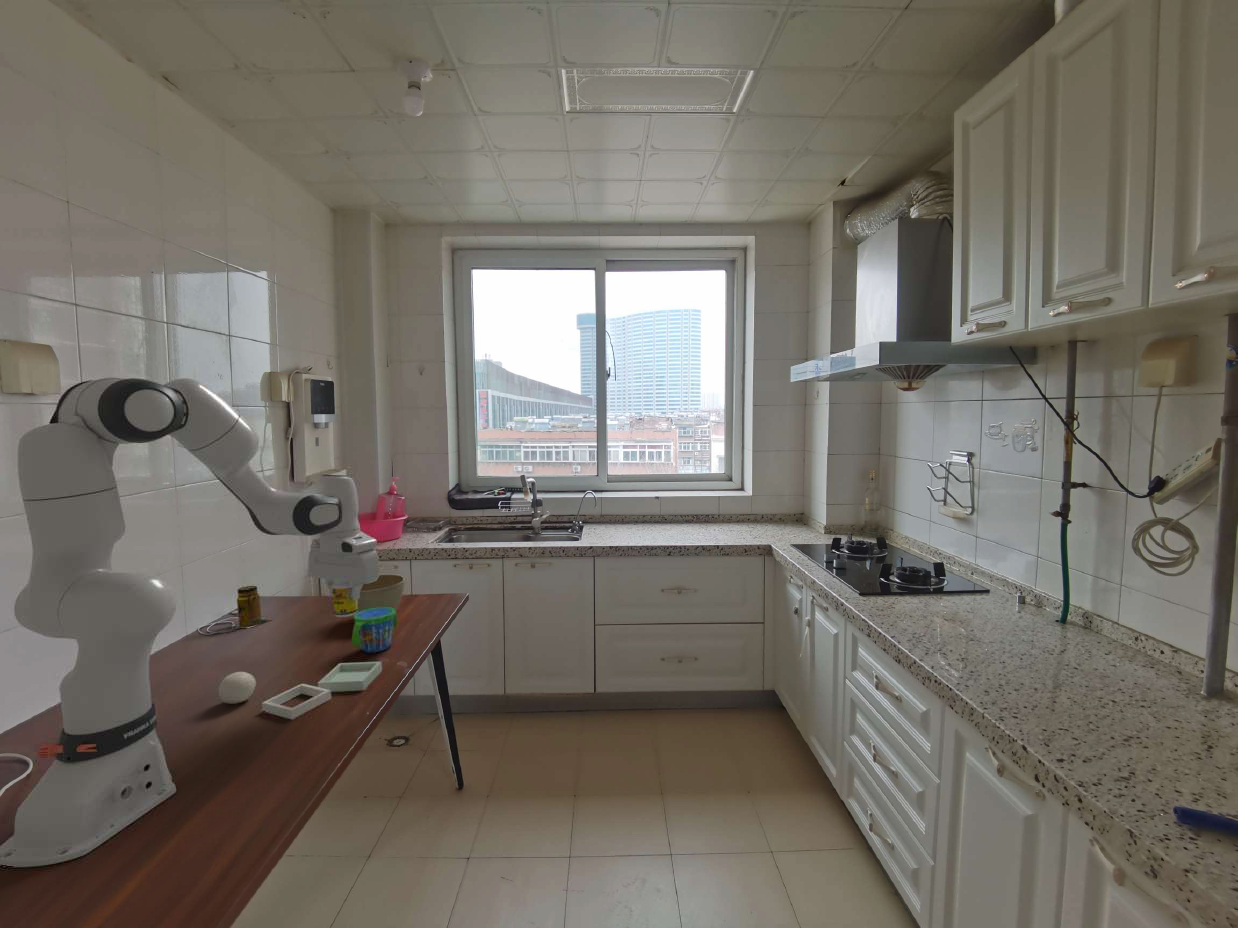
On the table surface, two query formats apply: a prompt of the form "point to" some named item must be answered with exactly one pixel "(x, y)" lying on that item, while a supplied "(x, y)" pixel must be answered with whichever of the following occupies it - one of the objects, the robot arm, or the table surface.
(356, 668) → the tray
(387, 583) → the flower pot
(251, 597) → the condiment
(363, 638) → the snack cup
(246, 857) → the table surface
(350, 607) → the supplement bottle
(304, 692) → the holder
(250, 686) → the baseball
